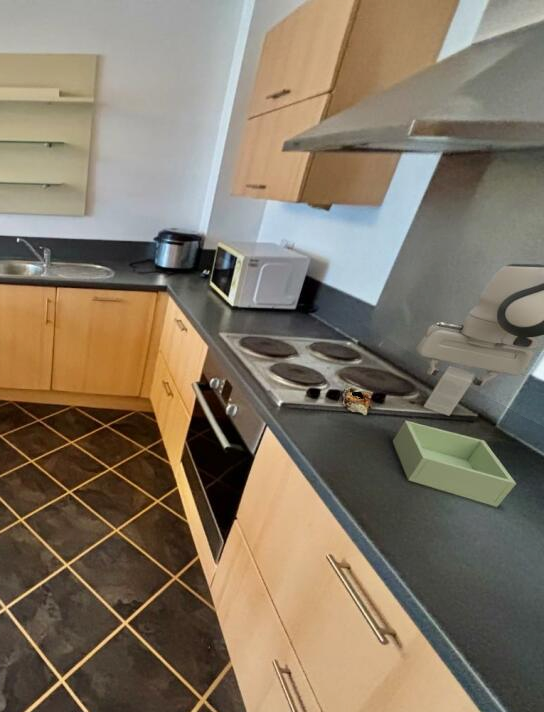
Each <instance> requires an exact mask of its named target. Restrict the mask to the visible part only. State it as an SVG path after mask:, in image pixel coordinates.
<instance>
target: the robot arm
mask: <svg viewBox="0 0 544 712" xmlns="http://www.w3.org/2000/svg"><path fill="white" fill-rule="evenodd" d="M541 336H544V264H542V263H541V264H538V263H511V264H507V265H504V266H502V267H501V268H500V269H499V270H498V271H496V272H495V274H494V275H493V276H492V277H491V279H490V280H489V282H488V283H487V284H486V286H484V288H483V290H482V291H481V293H480V295H479V297H478V302H477V303H476V305H475V306H474V307H473V308H472V309H471V310H470V311H469V313H468V314H467V315H466V318H465V319H464V321H463V322H462V324H455V323H448V322H445V321H439V322H434V323H432V324H430V325H429V326H428V328H427V329H426V331H425V335H424V336H423V338H422V339H421V340H420V342H419V343H418V344H417V346H416V348H415V349H416V352H417V354H418V355H419V356H420V357H423V358H427V359H428V365H429V367H428V369H427V372H426V373H427V375H429V376H434V377H436V376H437V375H438V373H439V371H440V369H438V367H436V364H439V362H440V361H442V362H447V363H452V364H457V365H461V366H465V367H471V368H475V369H480V370H485V371H486V374H485V373H484V374H483V375H482V376H475V377H474V379H473V380H472V384H473V385H474V386H479V387H483V386H484V385H485V384H486V382H488V381H490V380H492V379H495V377H498V375H499V374H503V375H508V376H513V377H516V376H519V375H521V374H522V373H523V372H524V371H525V370H526V369H527V367H528V366H529V364H530V362H531V360H532V358H533V356H534V353H533V349H535V348H536V347H537V346H538V345H539V341H538V340H537V339H536V338H537V337H541Z"/></svg>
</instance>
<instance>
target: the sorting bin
mask: <svg viewBox="0 0 544 712" xmlns="http://www.w3.org/2000/svg"><path fill="white" fill-rule="evenodd" d="M392 443H393V446H394V448H395V451H396V454H397V457H398V458H399V461H400V463H401V466H402V469H403V471H404V473H405V476H406V479H407V480H408V482H409V481H410V482H413V483H416V484H420V485H423V486H427V487H429V488H433V489H436V490H440V491H443V492H446V493H449V494H453V495H456V496H460V497H463V498H467V499H470V500H473V501H475V502H479V503H483V504H486V505H488V506H489V505H490V506H492V507H496V508H497V507H499V505H501V503H502V502H503V500H504V499H505V498H506V497H507V496H508V495H509V493H510V492H511V491H512V489H514V487H515V486H516V485H517V483H516V481H515V480H514V478H513V477H512V475H510V473H509V472H508V471H507V469H506V467H505V466H504V465H503V463H502V462H501V461H500V459H499V458H498V457H497V456H496V454H495V453H494V452H493V450H492V449H491V447H490V446H489V445H488V443H487V442H486V441H485V440H484V439H479V438H475V437H472V436H468V435H463V434H460V433H457V432H452V431H448V430H444V429H440V428H437V427H432V426H428V425H425V424H420V423H417V422H414V421H409V420H404V422H403V423H402V425H401V427H400V428H399V430H398V431H397V433H396V435H395V437H394V438H393V440H392Z"/></svg>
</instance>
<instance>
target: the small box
mask: <svg viewBox="0 0 544 712" xmlns="http://www.w3.org/2000/svg"><path fill="white" fill-rule="evenodd" d="M476 375H477V374H476V373H474V372H472V371H468V370H465V369H462V368H458V367H454V366H452V365H451V366H450V365H448V366H447V368H446V369H445V371H444V372H443V373H442V375H441V376H440V378H439V379H438V381H437V382H436V384H435V386H434V387H433V389H432V391H431V393H430V395H429V396H428V398H427V399H426V401H425V403H424V405H423V406H422V407H423V408H425V409H428V410H431V411H433V412H436V413H440V414H442V415H446V416H449V417H450V416H451V414H452V413H453V412H454V410H455V408H456V407H457V405H458V404H459V403H460V401H461V399H462V398H463V396H464V395H465V393H466V392H467V390H468V389H469V387H470V386H471V384H473V381H474V379H475V377H476Z"/></svg>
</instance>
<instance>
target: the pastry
mask: <svg viewBox="0 0 544 712" xmlns="http://www.w3.org/2000/svg"><path fill="white" fill-rule="evenodd" d="M340 391H341V394H340V395H339V396H341V395H342V398H343V401H342V402H341V403H342V404H343V405H344V407H345V408H346V409H347V410H349V411H350V412H353V413H360V414H362V415H364V416H367V414H368V409H369V408H370V409H371V410H373V406H372V403H371V398H372V392H370V391H364V390H363V389H362V388H354V387H353V386H351V385H349V386H348V387H346V388H344V389H343V390H340ZM353 391H354V392H361V393H362V395H363V399H361V398H360V397H358V396H353V395H352V392H353ZM359 398H360V399H359Z"/></svg>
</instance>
